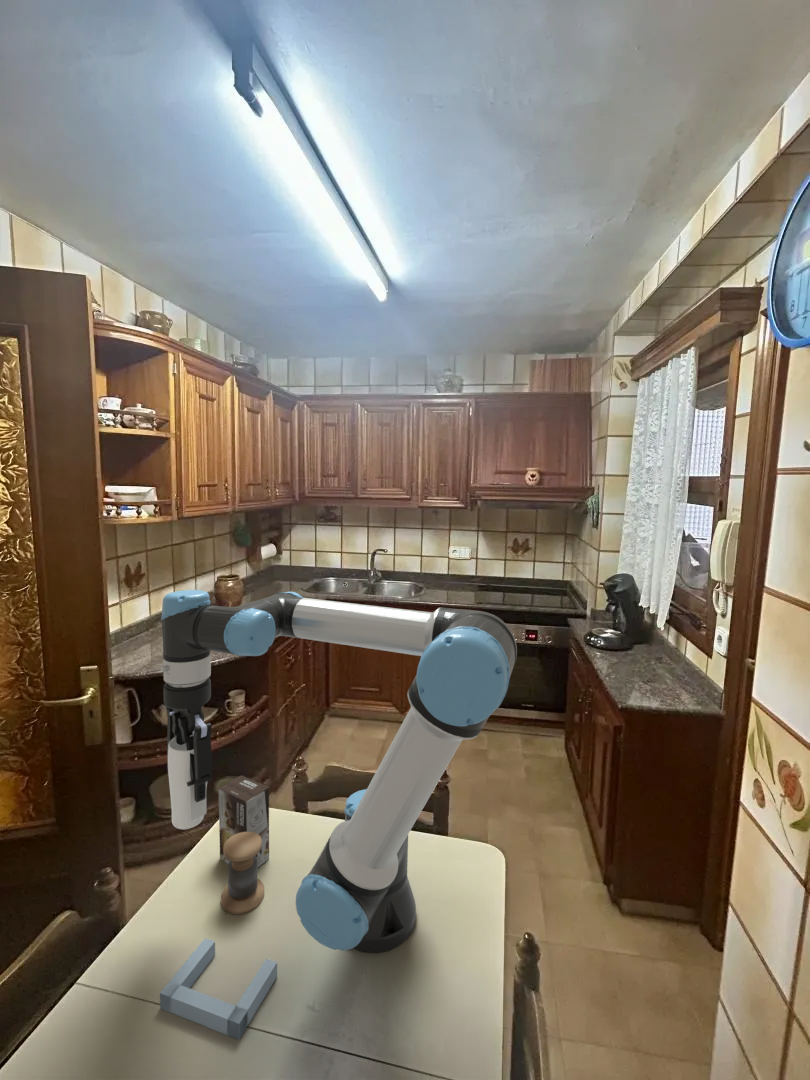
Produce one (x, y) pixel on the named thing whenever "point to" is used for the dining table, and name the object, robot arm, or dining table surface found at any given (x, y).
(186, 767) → the drinking glass
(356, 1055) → the dining table surface
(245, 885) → the bobbin
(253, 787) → the coffee box
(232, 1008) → the blue u-shaped block
